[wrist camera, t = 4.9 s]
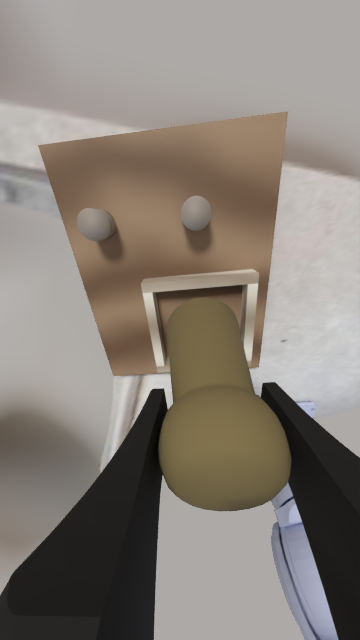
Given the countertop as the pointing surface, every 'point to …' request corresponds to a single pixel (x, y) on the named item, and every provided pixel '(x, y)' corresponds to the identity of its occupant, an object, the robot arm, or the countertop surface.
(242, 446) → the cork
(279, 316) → the countertop surface
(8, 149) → the countertop surface
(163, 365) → the board
